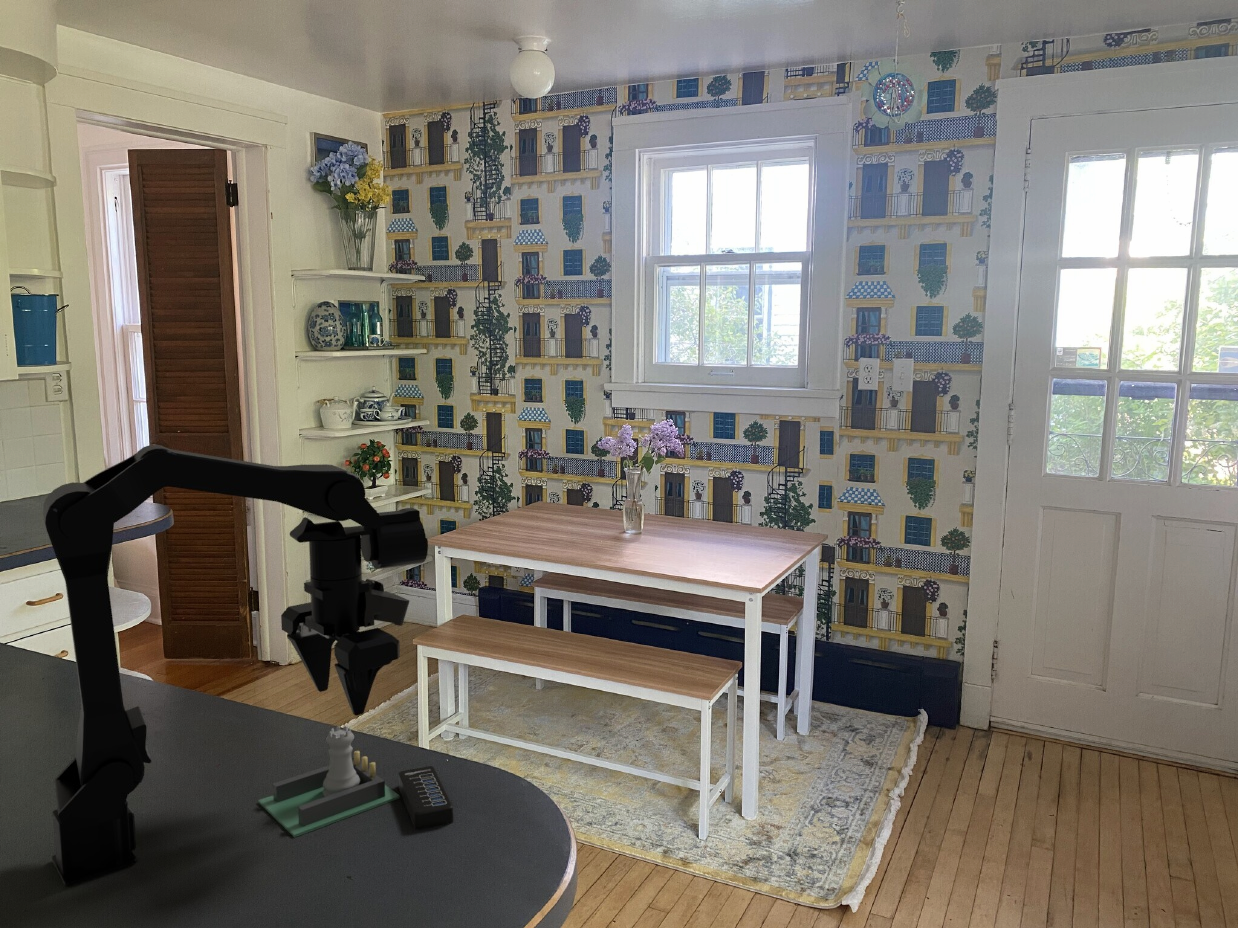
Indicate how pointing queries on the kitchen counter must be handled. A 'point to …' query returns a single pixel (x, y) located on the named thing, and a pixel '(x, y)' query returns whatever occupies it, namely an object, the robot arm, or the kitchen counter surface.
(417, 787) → the multiport hub
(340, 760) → the rook chess piece
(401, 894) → the kitchen counter surface
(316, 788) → the header socket
